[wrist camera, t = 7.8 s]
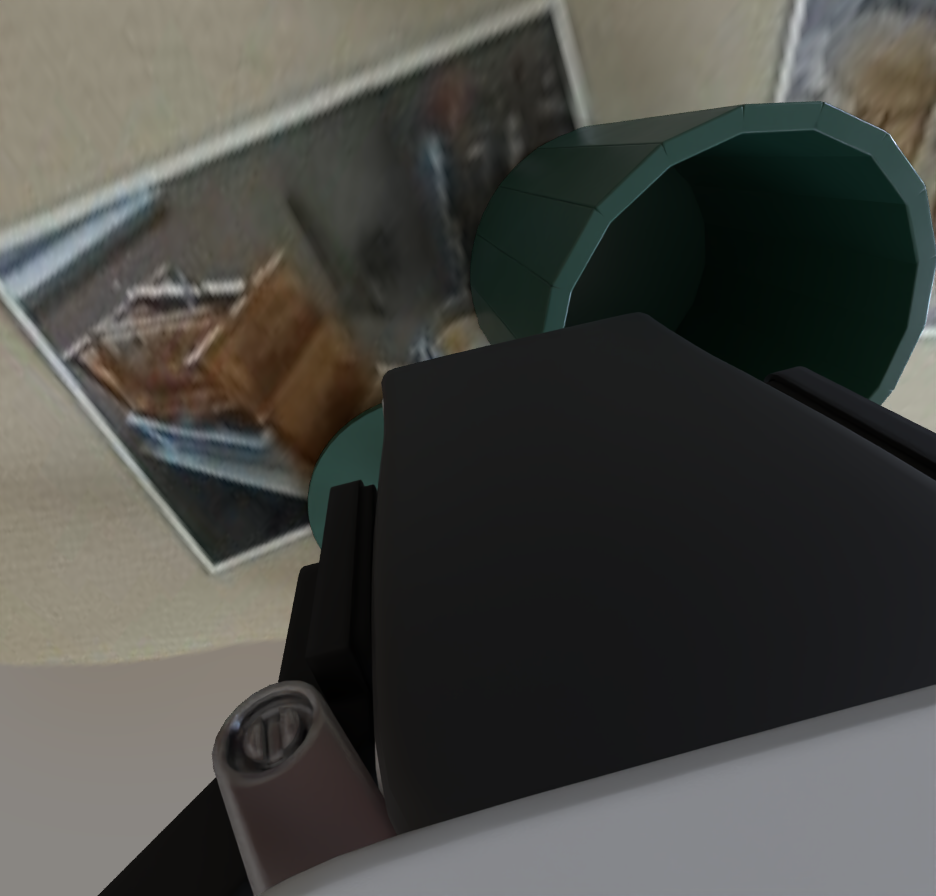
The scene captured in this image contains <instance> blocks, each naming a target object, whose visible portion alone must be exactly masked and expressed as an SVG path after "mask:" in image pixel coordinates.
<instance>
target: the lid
mask: <svg viewBox="0 0 936 896" xmlns="http://www.w3.org/2000/svg"><path fill="white" fill-rule="evenodd" d="M383 439H384V416H383V405H382V403H381V404H379V405H377V406H375V407H372V408H370V409H368V410H366V411H364V412H363V413H361V414H360V415H358V416H357V417H355V418H354V419H352V420H351V421H350V422H348V423H347V424H346V425H345V426H344V427H343V428H341V429H340V430H339V431H338V432H337V433H336V435H335V436H334V437H333V438H332V439H331V440H330V441H329V443H328V444H327V446H326V447H325V448H324V450H323V451H322V453H321V455H320V457H319V459H318V461H317V463H316V465H315V467H314V470H313V473H312V477H311V480H310V485H309V492H308V516H309V521H310V526H311V529H312V532H313V535H314V537H315V539H316V541H317V543H318V545H319V547H320V549H321V547H322V540H323V533H324V527H325V520H326V513H327V506H328V500H329V493H330V488H331V487H334V486H337V485H341V484H345V483H349V482H353V481H357V480H362V482H363V484H364V486H368V485H372V484H374V485H375V487H376V489H377V491H378V481H379V471H380V462H381V455H382V448H383Z"/></svg>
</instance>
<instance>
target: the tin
mask: <svg viewBox="0 0 936 896" xmlns="http://www.w3.org/2000/svg"><path fill="white" fill-rule="evenodd" d="M925 188H926V186H925V184H924V183H923V181H922V180H921V178H920V177H919V176H918V174H917V173H916V171H915V170H914V168H913V167H912V166H911V164H910V163H909V161H908V160H907V158H906V157H905V156H904V154H903V153H902V151H901V150H900V148H899V147H898V146H897V144H896V143H895V141H894V140H893V139H892V137H891V136H890V134H889V133H887V132H886V131H885V130H883V129H881V128H879V127H877V126H874V125H872V124H870V123H868V122H866V121H864V120H862V119H860V118H858V117H856V116H853V115H851V114H849V113H847V112H845V111H843V110H841V109H839V108H837V107H834V106H832V105H830V104H828V103H826V102H821V101H812V102H787V103H763V104H743V105H736V106H729V107H721V108H714V109H707V110H700V111H693V112H686V113H679V114H671V115H664V116H657V117H650V118H643V119H636V120H628V121H621V122H614V123H607V124H600V125H593V126H586V127H581V128H579V129H577V130H574V131H572V132H570V133H568V134H565V135H562V136H560V137H558V138H556V139H554V140H552V141H550V142H548V143H546V144H544V145H542V146H540V147H538V148H537V149H536V150H534V151H533V152H532V153H531V154H529V155H528V156H527V157H526V158H525V159H524V160H522V161H521V162H520V163H519V164H518V165H517V166H516V167H515V168H514V169H513V170H512V171H511V172H510V173H509V175H508V176H507V177H506V178H505V179H504V180H503V181H502V183H501V184H500V186H499V187H498V189H497V190H496V192H495V193H494V195H493V196H492V198H491V199H490V201H489V203H488V205H487V207H486V209H485V211H484V213H483V215H482V218H481V221H480V224H479V226H478V229H477V232H476V236H475V240H474V244H473V249H472V256H471V265H470V285H471V292H472V299H473V304H474V308H475V311H476V315H477V318H478V323H479V325H480V328H481V330H482V331H483V333H484V334H485V336H486V337H487V339H488V341H489V342H490V344H491V345H493V344H497V343H502V342H506V341H510V340H514V339H518V338H523V337H527V336H532V335H536V334H540V333H545V332H549V331H553V330H558V329H562V328H567V327H571V326H575V325H580V324H584V323H589V322H593V321H598V320H602V319H607V318H611V317H616V316H620V315H625V314H629V313H636V312H641V313H645V314H647V315H649V316H650V317H652V318H653V319H655V320H656V321H658V322H659V323H661V324H662V325H664V326H665V327H666V328H668V329H669V330H671V331H673V332H674V333H676V334H678V335H680V336H681V337H683V338H684V339H686V340H687V341H689V342H690V343H692V344H694V345H695V346H697V347H699V348H701V349H702V350H704V351H706V352H707V353H709V354H711V355H713V356H715V357H716V358H718V359H720V360H722V361H724V362H726V363H728V364H730V365H732V366H734V367H736V368H738V369H740V370H742V371H744V372H745V373H747V374H749V375H751V376H753V377H755V378H756V379H758V380H760V381H762V382H763V381H764V379H765V377H766V376H767V375H768V374H771V373H775V372H779V371H782V370H786V369H790V368H794V367H798V366H802V367H805V368H807V369H809V370H811V371H813V372H815V373H817V374H819V375H821V376H823V377H825V378H827V379H829V380H831V381H833V382H835V383H837V384H839V385H841V386H843V387H845V388H847V389H849V390H851V391H853V392H855V393H857V394H859V395H861V396H863V397H865V398H867V399H869V400H871V401H873V402H875V403H877V404H879V405H880V406H881V404H882V403H883V402H884V401H885V400H886V398H887V397H888V396H889V395H890V394H891V392H892V390H894V388H895V386H896V384H897V382H898V380H899V378H900V376H901V374H902V372H903V370H904V368H905V366H906V364H907V362H908V360H909V358H910V356H911V354H912V352H913V350H914V348H915V346H916V344H917V342H918V339H919V337H920V335H921V333H922V331H923V329H924V327H925V324H926V319H927V313H928V308H929V302H930V297H931V291H932V286H933V280H934V275H935V269H936V244H935V238H934V232H933V226H932V220H931V214H930V208H929V202H928V196H927V190H926V189H925Z"/></svg>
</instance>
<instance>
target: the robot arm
mask: <svg viewBox="0 0 936 896" xmlns="http://www.w3.org/2000/svg"><path fill="white" fill-rule="evenodd" d="M763 382H764V383H766V384H768V385H770V386H771V387H773V388H775V389H777V390H779V391H781V392H782V393H784V394H786V395H788V396H790V397H792V398H794V399H795V400H797V401H799V402H801V403H803V404H804V405H806V406H808V407H810V408H812V409H814V410H815V411H817V412H819V413H821V414H823V415H824V416H826V417H828V418H830V419H832V420H833V421H835V422H837V423H839V424H840V425H842V426H844V427H846V428H847V429H849V430H851V431H853V432H854V433H856V434H858V435H859V436H861V437H863V438H865V439H866V440H868V441H870V442H872V443H873V444H875V445H877V446H879V447H880V448H882V449H884V450H885V451H887V452H889V453H890V454H892V455H894V456H895V457H897V458H899V459H900V460H902V461H904V462H905V463H907V464H909V465H910V466H912V467H914V468H915V469H917V470H919V471H920V472H922V473H923V474H925V475H927V476H928V477H930V478H932V479H933V480H935V481H936V433H934V432H932V431H930V430H928V429H926V428H924V427H922V426H920V425H918V424H916V423H914V422H912V421H910V420H908V419H906V418H904V417H902V416H900V415H898V414H896V413H894V412H892V411H890V410H888V409H886V408H884V407H882V406H880V405H879V404H877V403H875V402H873V401H871V400H869V399H867V398H865V397H863V396H861V395H859V394H857V393H855V392H853V391H851V390H849V389H847V388H845V387H843V386H841V385H839V384H837V383H835V382H833V381H831V380H829V379H827V378H825V377H823V376H821V375H819V374H817V373H815V372H813V371H811V370H809V369H807V368H805V367H802V366H798V367H794V368H790V369H786V370H782V371H779V372H775V373H771V374H768V375H767V376H766V377H765V379H764V381H763ZM376 502H377V489H376V487H375V485H374V484H372V485H368V486H364V484H363V482H362V480H357V481H353V482H349V483H345V484H341V485H337V486H334V487H331V488H330V493H329V500H328V506H327V513H326V520H325V527H324V533H323V540H322V547H321V554H320V560H319V563H315V564H311V565H307V566H304V567H303V568H301V570H300V573H299V576H298V582H297V587H296V592H295V597H294V602H293V608H292V613H291V618H290V623H289V628H288V634H287V639H286V644H285V649H284V654H283V660H282V665H281V670H280V675H279V680H278V683H276V684H272V685H269V686H267V687H265V688H263V689H261V690H259V691H258V692H256V693H254V694H252V695H251V696H250V697H249V698H247V699H246V700H245V701H244V702H242V703H241V704H240V705H239V706H238V707H237V708H236V709H235V710H234V711H233V713H231V715H230V716H229V717H228V718H227V719H226V720H225V722H224V724H223V726H222V727H221V729H220V731H219V733H218V735H217V737H216V740H215V744H214V747H213V751H212V759H213V769H214V772H215V775H216V778H215V779H214V780H213V781H212V782H211V783H210V784H209V785H208V786H207V787H206V788H205V789H204V790H203V791H202V792H201V793H200V794H199V795H198V796H197V797H196V798H195V799H194V800H193V801H192V802H191V803H190V804H189V805H188V806H187V807H186V808H185V809H184V810H183V811H182V812H181V813H180V814H179V815H178V816H177V817H176V818H175V819H174V820H173V821H172V822H171V823H170V824H169V825H168V826H167V827H166V828H165V829H164V830H163V831H162V832H161V833H160V834H159V835H158V836H157V837H156V838H155V839H154V840H153V841H152V842H151V843H150V844H149V845H148V846H147V847H146V848H145V849H144V850H143V851H142V852H141V853H140V854H139V855H138V856H137V857H136V858H135V859H134V860H133V861H132V862H131V863H130V864H129V865H128V866H127V867H126V868H125V869H124V870H123V871H122V872H121V873H120V874H119V875H118V876H117V877H116V878H115V879H114V880H113V881H112V882H111V883H110V884H109V885H108V886H107V887H106V888H105V889H104V890H103V891H102V892H101V893H100V894H99V895H98V896H936V685H932V686H928V687H924V688H921V689H917V690H913V691H910V692H906V693H902V694H899V695H895V696H891V697H888V698H884V699H880V700H877V701H873V702H869V703H865V704H862V705H858V706H854V707H851V708H847V709H843V710H840V711H836V712H832V713H829V714H825V715H821V716H818V717H814V718H810V719H807V720H803V721H799V722H796V723H792V724H788V725H785V726H781V727H777V728H774V729H770V730H766V731H763V732H759V733H755V734H752V735H748V736H744V737H741V738H737V739H733V740H730V741H726V742H722V743H719V744H715V745H711V746H708V747H704V748H701V749H697V750H693V751H690V752H686V753H683V754H679V755H675V756H672V757H668V758H665V759H661V760H657V761H654V762H650V763H647V764H643V765H639V766H636V767H632V768H629V769H625V770H621V771H618V772H614V773H611V774H607V775H603V776H600V777H596V778H593V779H589V780H586V781H582V782H578V783H575V784H571V785H568V786H564V787H560V788H557V789H553V790H550V791H546V792H542V793H539V794H535V795H532V796H528V797H524V798H521V799H518V800H514V801H511V802H507V803H504V804H501V805H497V806H494V807H491V808H487V809H484V810H481V811H477V812H474V813H470V814H467V815H464V816H460V817H457V818H454V819H450V820H447V821H444V822H440V823H437V824H433V825H430V826H427V827H423V828H420V829H417V830H413V831H410V832H407V833H403V834H400V835H397V834H396V832H395V830H394V828H393V825H392V823H391V821H390V819H389V817H388V813H387V809H386V804H385V799H384V797H383V795H382V793H381V792H380V790H379V788H378V781H377V774H376V761H375V738H374V715H373V684H372V633H371V583H372V559H373V536H374V525H375V513H376Z"/></svg>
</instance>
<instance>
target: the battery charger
mask: <svg viewBox="0 0 936 896" xmlns="http://www.w3.org/2000/svg"><path fill="white" fill-rule="evenodd" d="M381 384H382V391H383V400H382V405H383V416H384V439H383V448H382V455H381V462H380V471H379V481H378V491H377V502H376V513H375V525H374V536H373V559H372V583H371V633H372V684H373V715H374V738H375V761H376V774H377V781H378V788H379V790H380V792H381V793H382V795H383V797H384V799H385V804H386V809H387V813H388V817H389V819H390V821H391V823H392V825H393V828H394V830H395V832H396V834H397V835H400V834H403V833H407V832H410V831H413V830H417V829H420V828H423V827H427V826H430V825H433V824H437V823H440V822H444V821H447V820H450V819H454V818H457V817H460V816H464V815H467V814H470V813H474V812H477V811H481V810H484V809H487V808H491V807H494V806H497V805H501V804H504V803H507V802H511V801H514V800H518V799H521V798H524V797H528V796H532V795H535V794H539V793H542V792H546V791H550V790H553V789H557V788H560V787H564V786H568V785H571V784H575V783H578V782H582V781H586V780H589V779H593V778H596V777H600V776H603V775H607V774H611V773H614V772H618V771H621V770H625V769H629V768H632V767H636V766H639V765H643V764H647V763H650V762H654V761H657V760H661V759H665V758H668V757H672V756H675V755H679V754H683V753H686V752H690V751H693V750H697V749H701V748H704V747H708V746H711V745H715V744H719V743H722V742H726V741H730V740H733V739H737V738H741V737H744V736H748V735H752V734H755V733H759V732H763V731H766V730H770V729H774V728H777V727H781V726H785V725H788V724H792V723H796V722H799V721H803V720H807V719H810V718H814V717H818V716H821V715H825V714H829V713H832V712H836V711H840V710H843V709H847V708H851V707H854V706H858V705H862V704H865V703H869V702H873V701H877V700H880V699H884V698H888V697H891V696H895V695H899V694H902V693H906V692H910V691H913V690H917V689H921V688H924V687H928V686H932V685H936V481H935V480H933V479H932V478H930V477H928V476H927V475H925V474H923V473H922V472H920V471H919V470H917V469H915V468H914V467H912V466H910V465H909V464H907V463H905V462H904V461H902V460H900V459H899V458H897V457H895V456H894V455H892V454H890V453H889V452H887V451H885V450H884V449H882V448H880V447H879V446H877V445H875V444H873V443H872V442H870V441H868V440H866V439H865V438H863V437H861V436H859V435H858V434H856V433H854V432H853V431H851V430H849V429H847V428H846V427H844V426H842V425H840V424H839V423H837V422H835V421H833V420H832V419H830V418H828V417H826V416H824V415H823V414H821V413H819V412H817V411H815V410H814V409H812V408H810V407H808V406H806V405H804V404H803V403H801V402H799V401H797V400H795V399H794V398H792V397H790V396H788V395H786V394H784V393H782V392H781V391H779V390H777V389H775V388H773V387H771V386H770V385H768V384H766V383H764V382H762V381H760V380H758V379H756V378H755V377H753V376H751V375H749V374H747V373H745V372H744V371H742V370H740V369H738V368H736V367H734V366H732V365H730V364H728V363H726V362H724V361H722V360H720V359H718V358H716V357H715V356H713V355H711V354H709V353H707V352H706V351H704V350H702V349H701V348H699V347H697V346H695V345H694V344H692V343H690V342H689V341H687V340H686V339H684V338H683V337H681V336H680V335H678V334H676V333H674V332H673V331H671V330H669V329H668V328H666V327H665V326H664V325H662V324H661V323H659V322H658V321H656V320H655V319H653V318H652V317H650V316H649V315H647V314H645V313H641V312H636V313H629V314H625V315H620V316H616V317H611V318H607V319H602V320H598V321H593V322H589V323H584V324H580V325H575V326H571V327H567V328H562V329H558V330H553V331H549V332H545V333H540V334H536V335H532V336H527V337H523V338H518V339H514V340H510V341H506V342H502V343H497V344H493V345H489V346H485V347H481V348H476V349H472V350H468V351H464V352H460V353H455V354H451V355H447V356H443V357H439V358H435V359H431V360H427V361H423V362H418V363H414V364H410V365H406V366H402V367H398V368H395V369H392V370H389V371H388V372H387V373H386V374H385V375H384V376H383V379H382V383H381Z"/></svg>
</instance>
